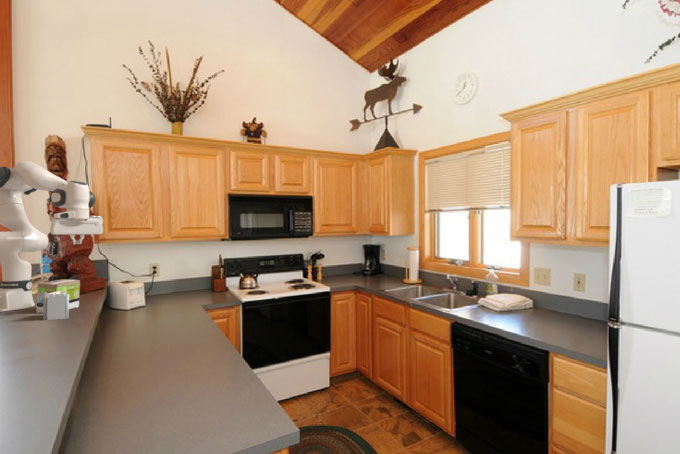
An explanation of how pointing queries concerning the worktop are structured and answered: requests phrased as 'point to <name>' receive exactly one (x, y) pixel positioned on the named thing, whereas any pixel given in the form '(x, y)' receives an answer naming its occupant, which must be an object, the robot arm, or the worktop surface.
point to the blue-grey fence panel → (58, 306)
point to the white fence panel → (46, 303)
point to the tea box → (63, 287)
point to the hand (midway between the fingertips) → (77, 244)
